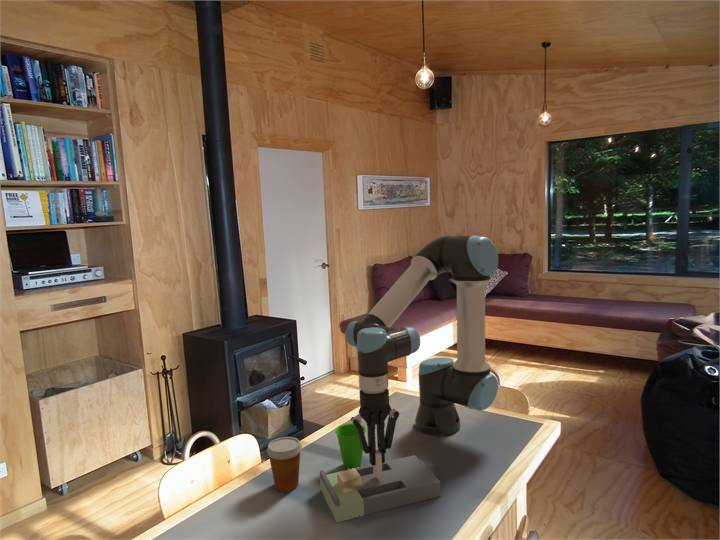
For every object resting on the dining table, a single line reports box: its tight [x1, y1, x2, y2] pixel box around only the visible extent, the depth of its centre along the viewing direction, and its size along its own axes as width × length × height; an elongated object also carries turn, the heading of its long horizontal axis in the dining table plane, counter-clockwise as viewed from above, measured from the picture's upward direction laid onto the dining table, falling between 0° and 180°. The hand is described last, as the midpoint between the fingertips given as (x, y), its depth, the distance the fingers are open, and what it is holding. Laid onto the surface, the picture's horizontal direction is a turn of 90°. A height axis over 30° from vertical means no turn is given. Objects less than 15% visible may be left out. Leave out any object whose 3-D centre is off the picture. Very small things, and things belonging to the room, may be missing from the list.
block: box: [336, 468, 362, 493], centre depth 127 cm, size 5×5×3 cm
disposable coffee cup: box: [266, 436, 303, 493], centre depth 136 cm, size 10×10×12 cm
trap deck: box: [319, 454, 441, 523], centre depth 130 cm, size 28×15×6 cm, turn 109°
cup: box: [334, 422, 367, 470], centre depth 145 cm, size 9×9×11 cm
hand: (377, 475), depth 130 cm, fingers closed
